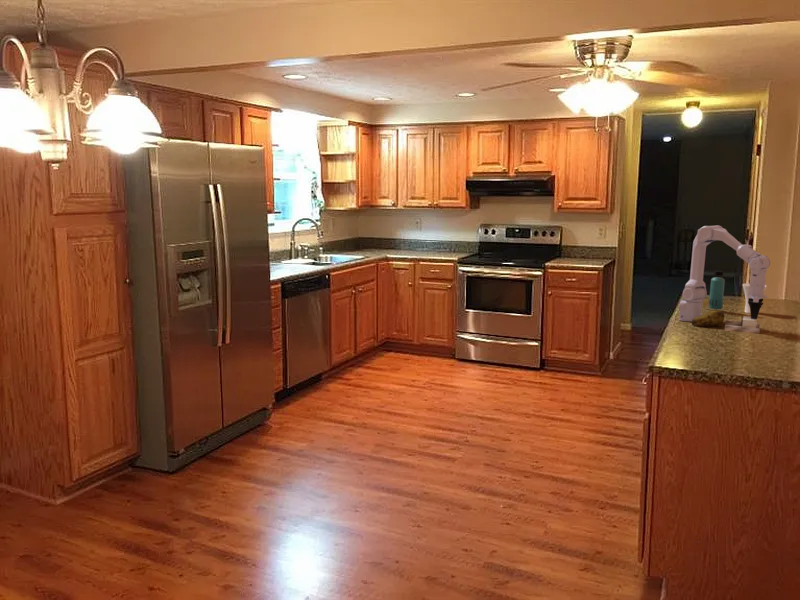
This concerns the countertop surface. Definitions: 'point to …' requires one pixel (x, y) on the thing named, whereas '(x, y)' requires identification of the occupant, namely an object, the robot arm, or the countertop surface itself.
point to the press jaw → (748, 322)
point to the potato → (709, 319)
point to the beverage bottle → (716, 291)
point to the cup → (746, 291)
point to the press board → (737, 327)
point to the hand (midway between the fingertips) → (754, 316)
